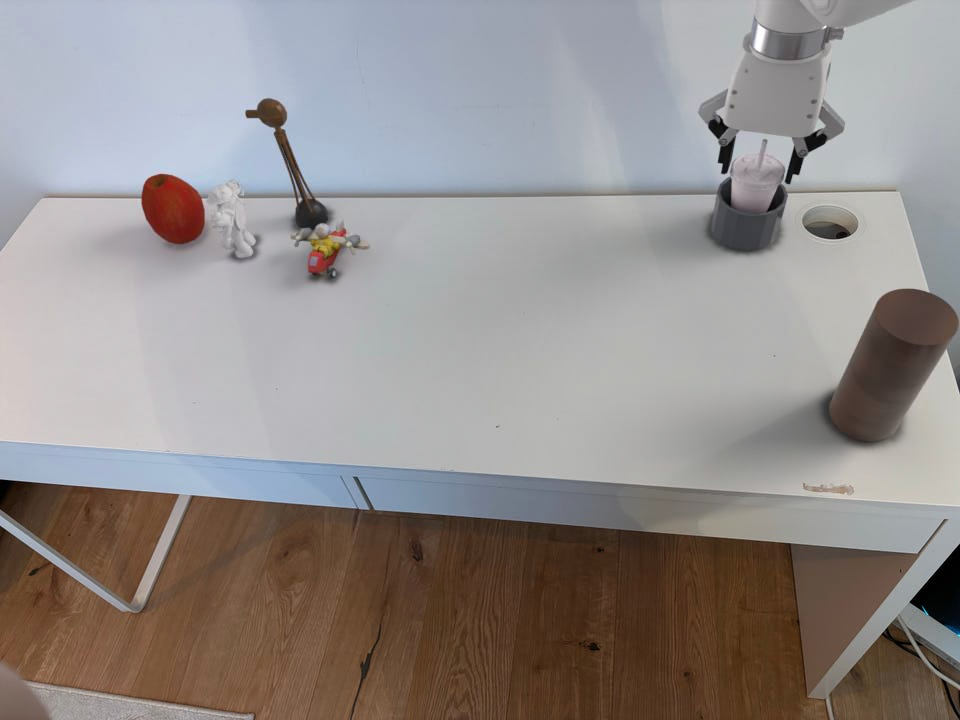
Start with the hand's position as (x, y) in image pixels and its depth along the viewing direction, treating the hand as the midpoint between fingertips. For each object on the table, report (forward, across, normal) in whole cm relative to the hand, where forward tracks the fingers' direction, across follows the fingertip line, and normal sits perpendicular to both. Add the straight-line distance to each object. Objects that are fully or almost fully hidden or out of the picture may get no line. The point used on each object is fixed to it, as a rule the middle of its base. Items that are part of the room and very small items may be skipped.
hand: (757, 171), depth 89 cm
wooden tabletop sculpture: (+10, +60, +14) cm, 62 cm away
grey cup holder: (+9, 0, 0) cm, 9 cm away
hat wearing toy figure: (+10, +66, +22) cm, 70 cm away
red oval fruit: (+10, +77, +22) cm, 81 cm away
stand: (+9, -17, +25) cm, 32 cm away
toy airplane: (+10, +52, +20) cm, 57 cm away
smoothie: (+9, 0, 0) cm, 9 cm away
